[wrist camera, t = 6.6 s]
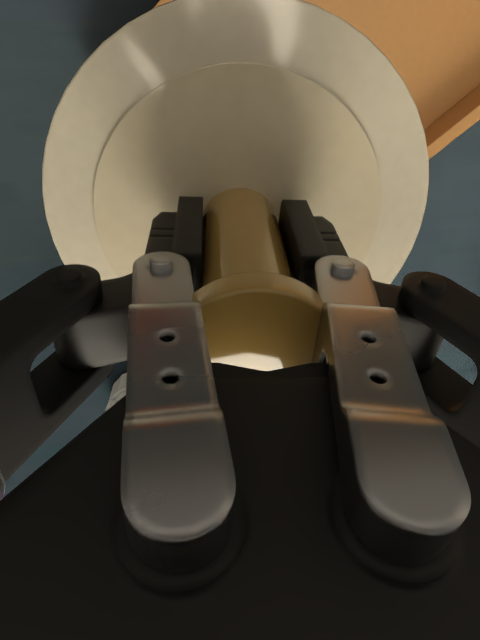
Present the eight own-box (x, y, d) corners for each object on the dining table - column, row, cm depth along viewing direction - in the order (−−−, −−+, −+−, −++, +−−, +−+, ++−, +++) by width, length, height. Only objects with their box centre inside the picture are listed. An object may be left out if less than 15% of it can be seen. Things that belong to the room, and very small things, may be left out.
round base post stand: (-28, 205, 14) (-187, 361, 9) (257, -153, 10) (325, -330, 4) (228, 389, 20) (235, 557, 14) (481, 219, 16) (640, 364, 10)
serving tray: (95, 83, 27) (85, 94, 24) (486, -411, 17) (527, -467, 15) (275, 257, 35) (279, 276, 32) (609, -15, 25) (648, -13, 23)
